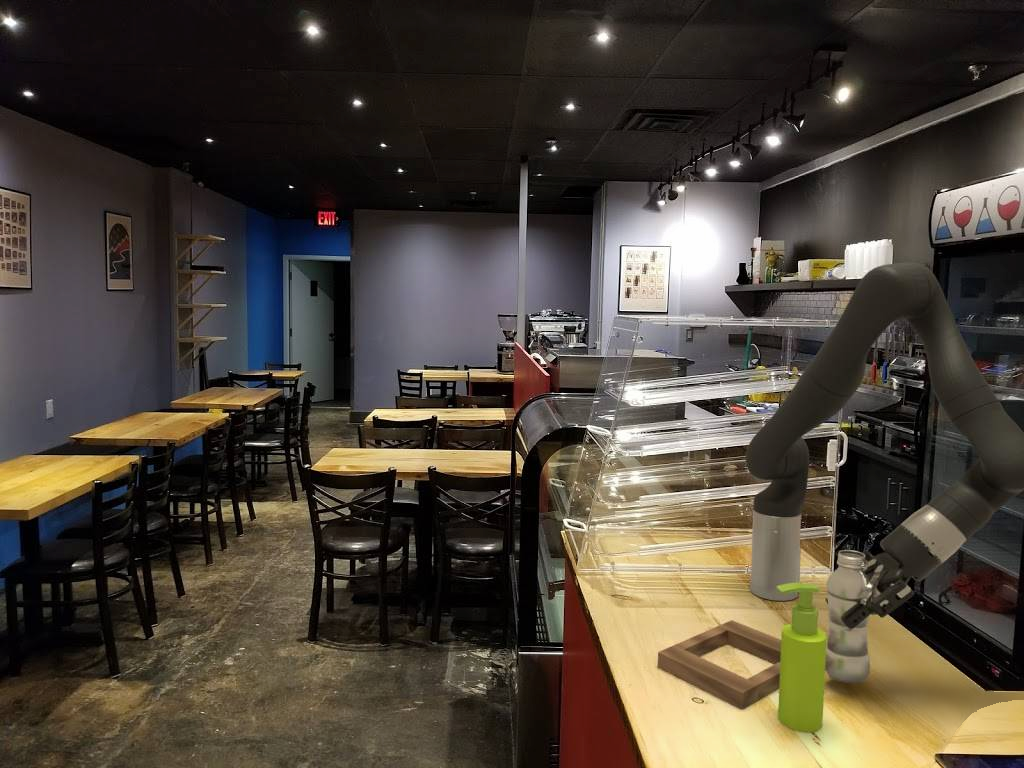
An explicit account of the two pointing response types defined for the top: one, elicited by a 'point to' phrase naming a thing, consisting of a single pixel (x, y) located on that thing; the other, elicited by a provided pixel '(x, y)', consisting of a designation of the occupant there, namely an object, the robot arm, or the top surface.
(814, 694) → the soap dispenser
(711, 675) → the brown wooden picture frame
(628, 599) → the top surface
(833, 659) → the plastic bottle
